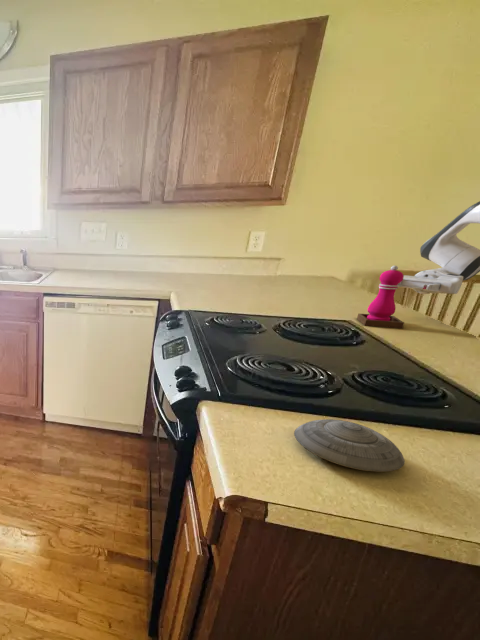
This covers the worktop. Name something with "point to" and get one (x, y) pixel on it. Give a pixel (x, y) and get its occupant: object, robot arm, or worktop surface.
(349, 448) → the flying saucer
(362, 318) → the tray
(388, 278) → the pepper mill
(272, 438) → the worktop surface
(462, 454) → the worktop surface
